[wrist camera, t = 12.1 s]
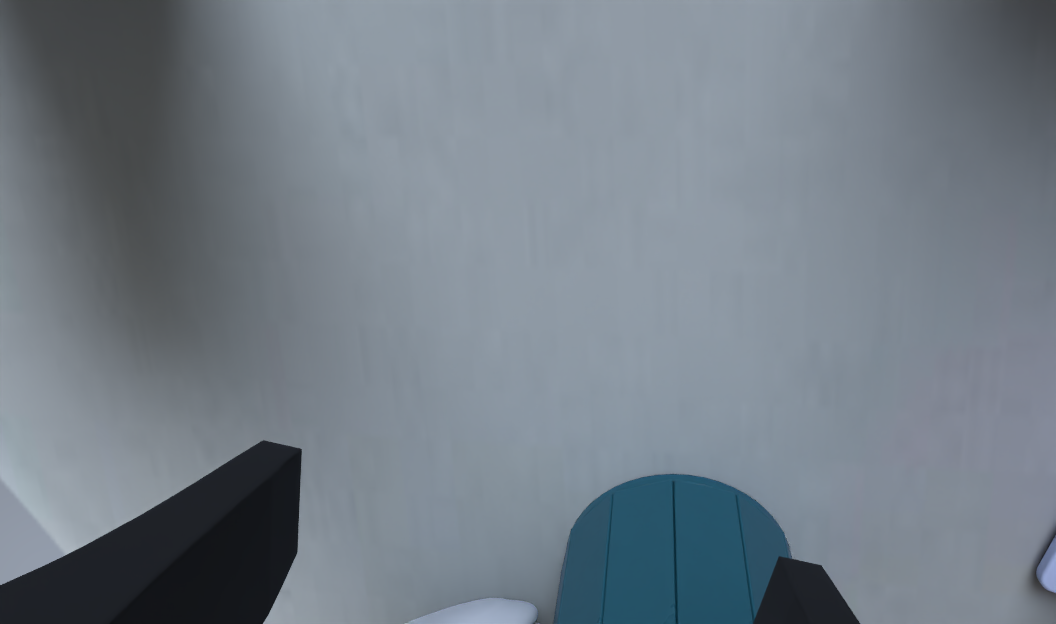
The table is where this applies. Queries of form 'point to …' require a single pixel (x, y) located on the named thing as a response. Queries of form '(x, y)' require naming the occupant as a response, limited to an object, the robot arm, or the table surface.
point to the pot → (669, 555)
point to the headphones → (483, 613)
